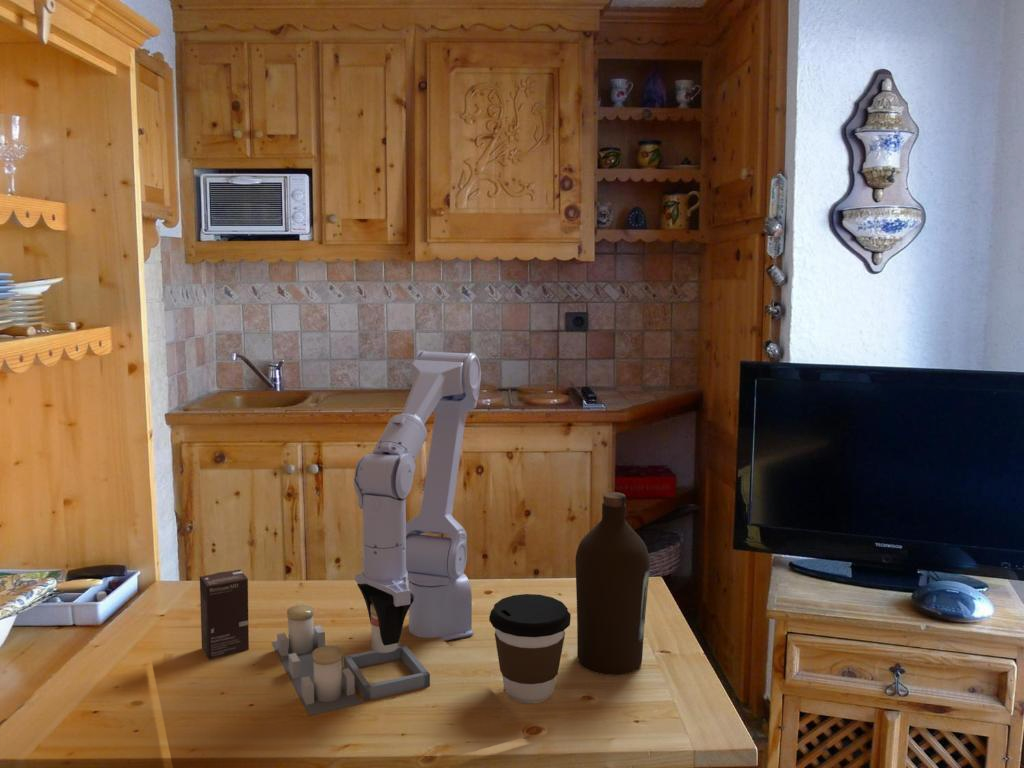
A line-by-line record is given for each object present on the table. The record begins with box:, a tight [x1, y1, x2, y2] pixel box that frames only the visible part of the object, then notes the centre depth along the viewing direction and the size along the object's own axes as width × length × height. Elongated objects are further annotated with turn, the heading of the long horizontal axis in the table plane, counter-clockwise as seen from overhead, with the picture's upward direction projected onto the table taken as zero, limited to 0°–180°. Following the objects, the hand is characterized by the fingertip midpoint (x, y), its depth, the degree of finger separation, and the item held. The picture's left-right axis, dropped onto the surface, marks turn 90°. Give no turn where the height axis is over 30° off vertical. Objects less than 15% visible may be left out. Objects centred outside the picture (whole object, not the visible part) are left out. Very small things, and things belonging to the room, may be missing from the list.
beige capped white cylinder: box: [286, 604, 315, 654], centre depth 127 cm, size 4×4×6 cm
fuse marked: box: [370, 604, 399, 653], centre depth 118 cm, size 4×4×6 cm
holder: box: [271, 624, 364, 717], centre depth 121 cm, size 7×23×3 cm, turn 27°
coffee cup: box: [488, 593, 572, 705], centre depth 116 cm, size 11×11×12 cm
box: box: [199, 568, 250, 661], centre depth 126 cm, size 6×4×12 cm
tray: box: [343, 643, 431, 702], centre depth 119 cm, size 9×10×2 cm
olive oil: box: [575, 491, 651, 676], centre depth 125 cm, size 11×11×25 cm
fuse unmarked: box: [312, 645, 343, 702], centre depth 114 cm, size 4×4×6 cm
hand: (385, 637), depth 119 cm, fingers closed on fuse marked, 4 cm apart
